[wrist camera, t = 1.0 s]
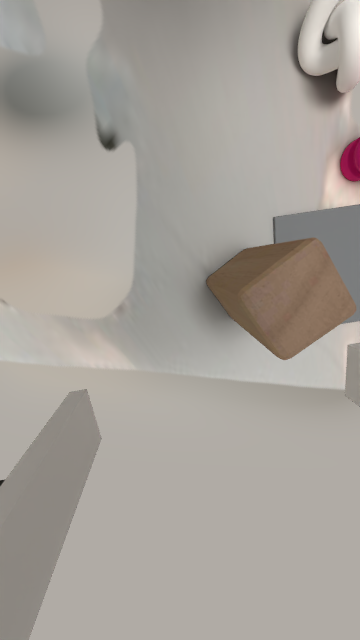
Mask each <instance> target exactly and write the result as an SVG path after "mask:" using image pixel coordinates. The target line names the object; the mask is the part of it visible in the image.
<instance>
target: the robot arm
mask: <svg viewBox="0 0 360 640" xmlns="http://www.w3.org/2000/svg"><path fill="white" fill-rule="evenodd" d="M345 396H346V397H347V398H348V399H350V400H351V401H352V402H354V403H355V404H356V405H358V406H359V407H360V343H356V344H350V345H348V349H347V367H346V385H345ZM100 441H101V435H100V432H99V428H98V425H97V422H96V419H95V415H94V412H93V409H92V405H91V402H90V399H89V395H88V392H87V389H85V390H79V391H74V392H69V394H68V395H67V397H66V398H65V399H64V401H63V402H62V403H61V405H60V406H59V408H58V409H57V410H56V412H55V413H54V414H53V416H52V417H51V418H50V420H49V421H48V422H47V424H46V425H45V426H44V428H43V429H42V430H41V432H40V433H39V435H38V436H37V437H36V439H35V440H34V441H33V443H32V444H31V445H30V447H29V448H28V450H27V451H26V452H25V454H24V455H23V456H22V458H21V459H20V461H19V462H18V463H17V465H16V466H15V467H14V469H13V470H12V471H11V473H10V474H9V475H8V477H7V478H6V479H5V480H0V640H29V637H30V635H31V632H32V629H33V626H34V623H35V621H36V618H37V615H38V612H39V610H40V607H41V604H42V601H43V599H44V596H45V593H46V590H47V588H48V585H49V582H50V579H51V577H52V574H53V571H54V568H55V566H56V562H57V560H58V557H59V554H60V552H61V549H62V546H63V543H64V541H65V538H66V535H67V532H68V530H69V527H70V524H71V521H72V518H73V516H74V513H75V510H76V508H77V505H78V502H79V499H80V497H81V494H82V491H83V488H84V486H85V483H86V480H87V477H88V474H89V472H90V469H91V466H92V464H93V461H94V458H95V455H96V452H97V450H98V447H99V444H100Z"/></svg>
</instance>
